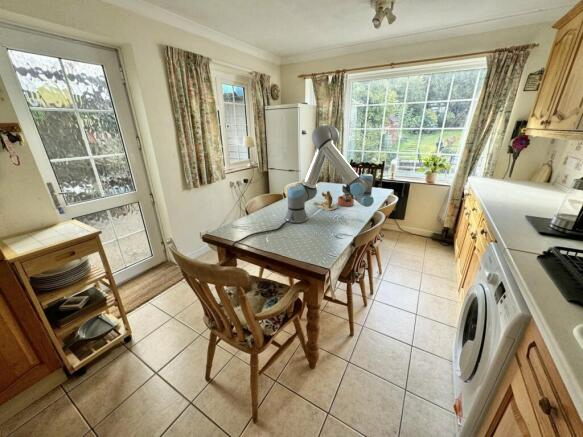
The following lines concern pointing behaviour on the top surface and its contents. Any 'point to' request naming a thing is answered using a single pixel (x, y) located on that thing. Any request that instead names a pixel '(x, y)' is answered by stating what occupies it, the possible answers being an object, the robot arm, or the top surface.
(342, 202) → the bowl
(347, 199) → the dish brush
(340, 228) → the top surface
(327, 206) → the wooden toy
